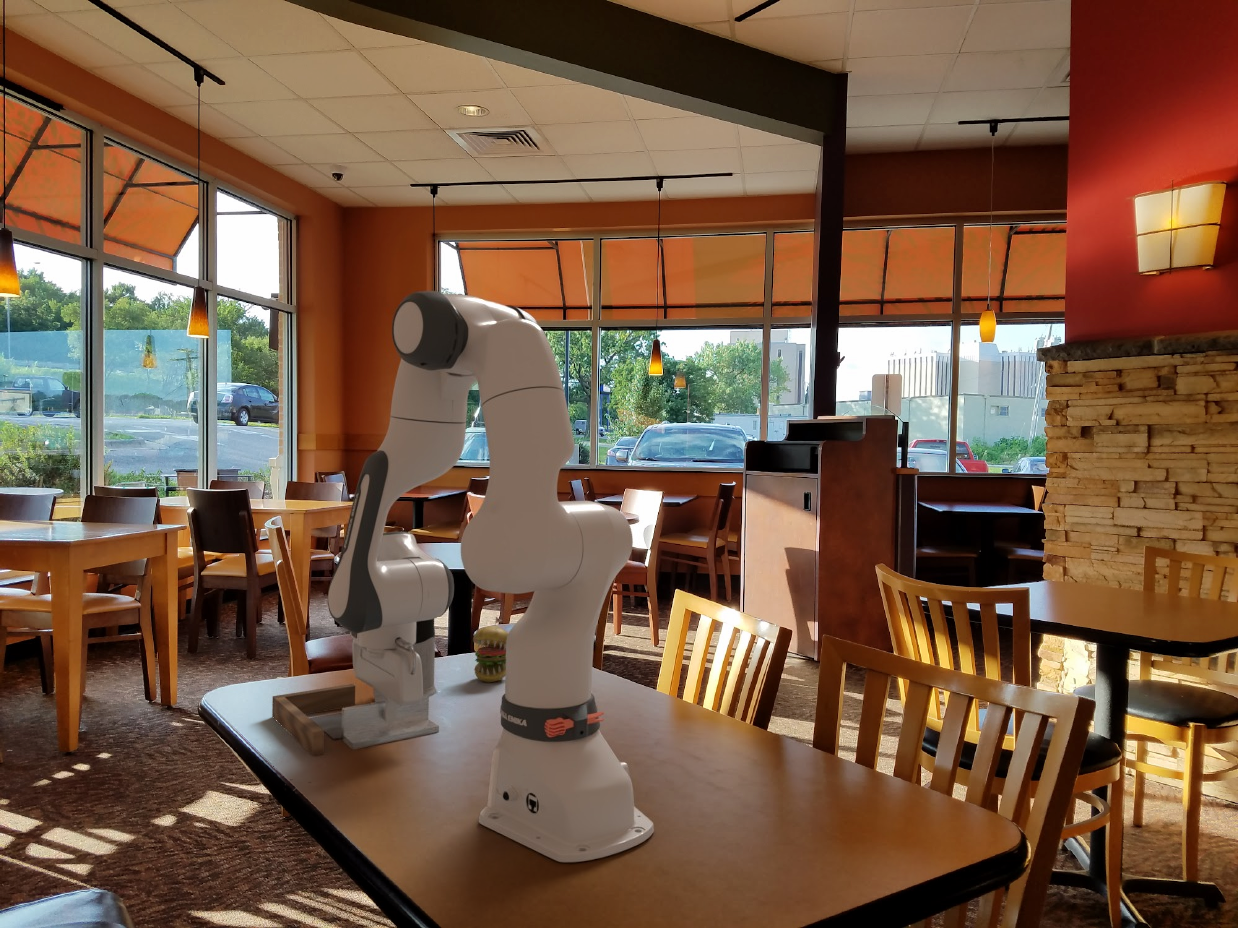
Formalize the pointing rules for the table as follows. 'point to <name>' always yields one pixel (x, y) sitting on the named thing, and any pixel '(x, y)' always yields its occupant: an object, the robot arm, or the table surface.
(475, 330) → the robot arm
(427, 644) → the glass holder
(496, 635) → the hamburger
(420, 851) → the table surface
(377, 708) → the angle bracket
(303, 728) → the brown wooden l-shaped piece
